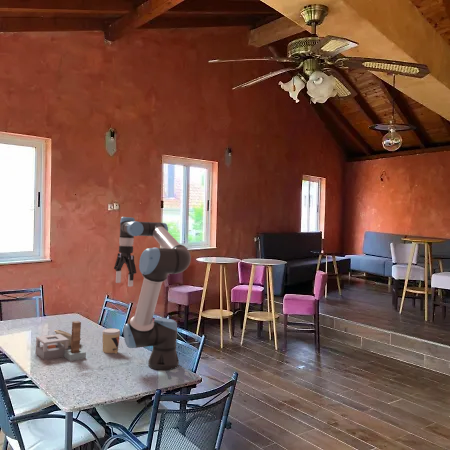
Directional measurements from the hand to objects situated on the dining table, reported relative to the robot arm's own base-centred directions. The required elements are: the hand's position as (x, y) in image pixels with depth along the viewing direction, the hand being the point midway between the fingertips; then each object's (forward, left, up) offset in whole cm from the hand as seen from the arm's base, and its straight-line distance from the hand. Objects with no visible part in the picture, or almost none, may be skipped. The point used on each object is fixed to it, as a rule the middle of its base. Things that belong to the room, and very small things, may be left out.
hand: (124, 284), depth 234 cm
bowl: (+24, +20, -37) cm, 48 cm away
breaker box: (+11, +33, -37) cm, 51 cm away
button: (+11, +33, -36) cm, 50 cm away
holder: (+1, +25, -37) cm, 44 cm away
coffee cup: (+2, +5, -37) cm, 37 cm away
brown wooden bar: (+1, +25, -36) cm, 44 cm away
